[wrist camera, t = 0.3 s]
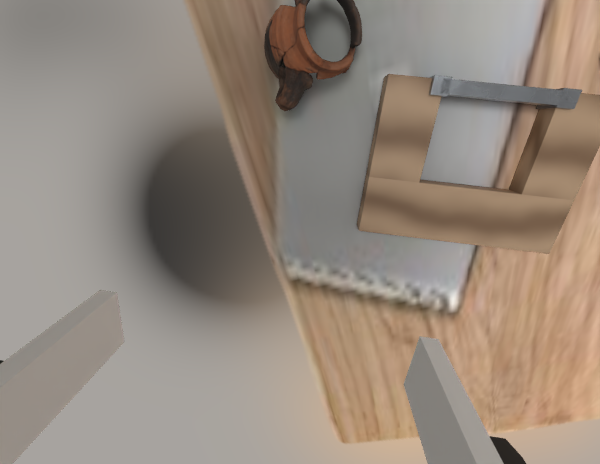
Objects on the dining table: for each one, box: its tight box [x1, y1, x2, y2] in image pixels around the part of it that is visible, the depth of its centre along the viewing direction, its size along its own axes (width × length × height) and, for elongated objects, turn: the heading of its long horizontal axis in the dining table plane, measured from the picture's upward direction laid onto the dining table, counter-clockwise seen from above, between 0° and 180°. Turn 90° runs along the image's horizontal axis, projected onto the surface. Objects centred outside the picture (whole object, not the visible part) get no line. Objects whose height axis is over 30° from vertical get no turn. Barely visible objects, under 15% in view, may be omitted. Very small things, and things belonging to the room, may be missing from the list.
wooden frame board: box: [357, 74, 600, 254], centre depth 34 cm, size 18×24×2 cm
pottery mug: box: [265, 0, 362, 111], centre depth 30 cm, size 12×10×8 cm
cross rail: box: [428, 75, 582, 109], centre depth 31 cm, size 2×15×3 cm, turn 83°
